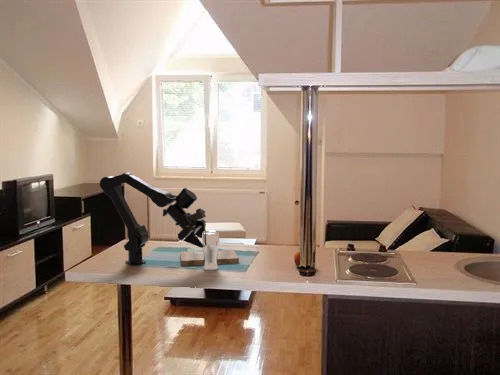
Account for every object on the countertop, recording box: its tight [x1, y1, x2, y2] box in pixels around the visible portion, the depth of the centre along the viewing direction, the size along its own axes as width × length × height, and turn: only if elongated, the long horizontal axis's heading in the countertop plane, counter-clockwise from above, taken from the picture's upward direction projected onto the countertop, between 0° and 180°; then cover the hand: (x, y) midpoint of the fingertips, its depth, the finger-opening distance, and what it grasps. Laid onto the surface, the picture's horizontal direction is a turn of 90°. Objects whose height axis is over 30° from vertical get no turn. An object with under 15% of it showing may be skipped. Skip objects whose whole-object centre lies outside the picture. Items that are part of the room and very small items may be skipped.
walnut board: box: [179, 249, 240, 266], centre depth 207 cm, size 24×15×2 cm, turn 100°
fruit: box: [293, 250, 301, 268], centre depth 195 cm, size 8×8×8 cm
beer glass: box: [201, 230, 220, 271], centre depth 193 cm, size 7×7×15 cm
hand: (206, 244), depth 193 cm, fingers open, 9 cm apart
